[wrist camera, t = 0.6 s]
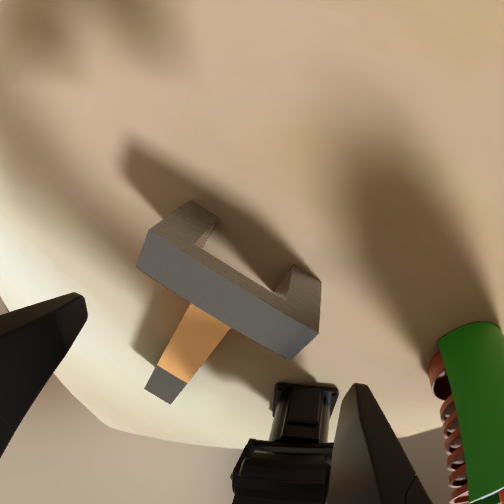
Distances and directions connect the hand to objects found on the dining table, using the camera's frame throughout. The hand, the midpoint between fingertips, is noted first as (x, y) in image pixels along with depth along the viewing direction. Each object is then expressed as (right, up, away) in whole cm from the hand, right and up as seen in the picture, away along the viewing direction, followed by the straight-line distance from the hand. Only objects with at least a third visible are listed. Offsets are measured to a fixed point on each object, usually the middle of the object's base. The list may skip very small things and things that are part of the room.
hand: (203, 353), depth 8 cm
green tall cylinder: (+23, -7, +14) cm, 27 cm away
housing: (+1, +3, +14) cm, 14 cm away
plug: (-4, -6, +19) cm, 21 cm away
